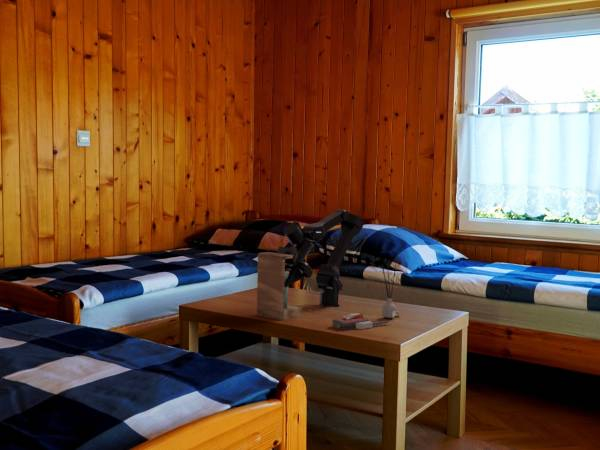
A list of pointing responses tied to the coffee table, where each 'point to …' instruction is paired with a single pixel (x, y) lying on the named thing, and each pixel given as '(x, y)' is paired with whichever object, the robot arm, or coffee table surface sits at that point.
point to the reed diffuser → (389, 301)
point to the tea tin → (286, 290)
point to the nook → (273, 287)
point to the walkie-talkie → (354, 322)
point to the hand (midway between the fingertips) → (277, 285)
